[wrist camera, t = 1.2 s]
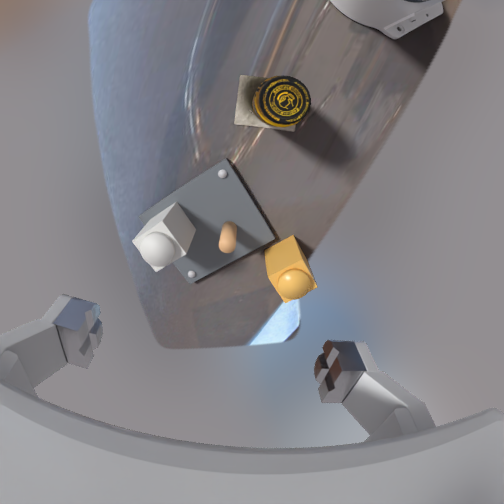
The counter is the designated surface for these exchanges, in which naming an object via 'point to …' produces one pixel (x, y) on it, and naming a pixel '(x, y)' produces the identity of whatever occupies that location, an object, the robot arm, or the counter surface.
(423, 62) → the counter surface
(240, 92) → the condiment
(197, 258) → the plate
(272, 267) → the yellow knob block
